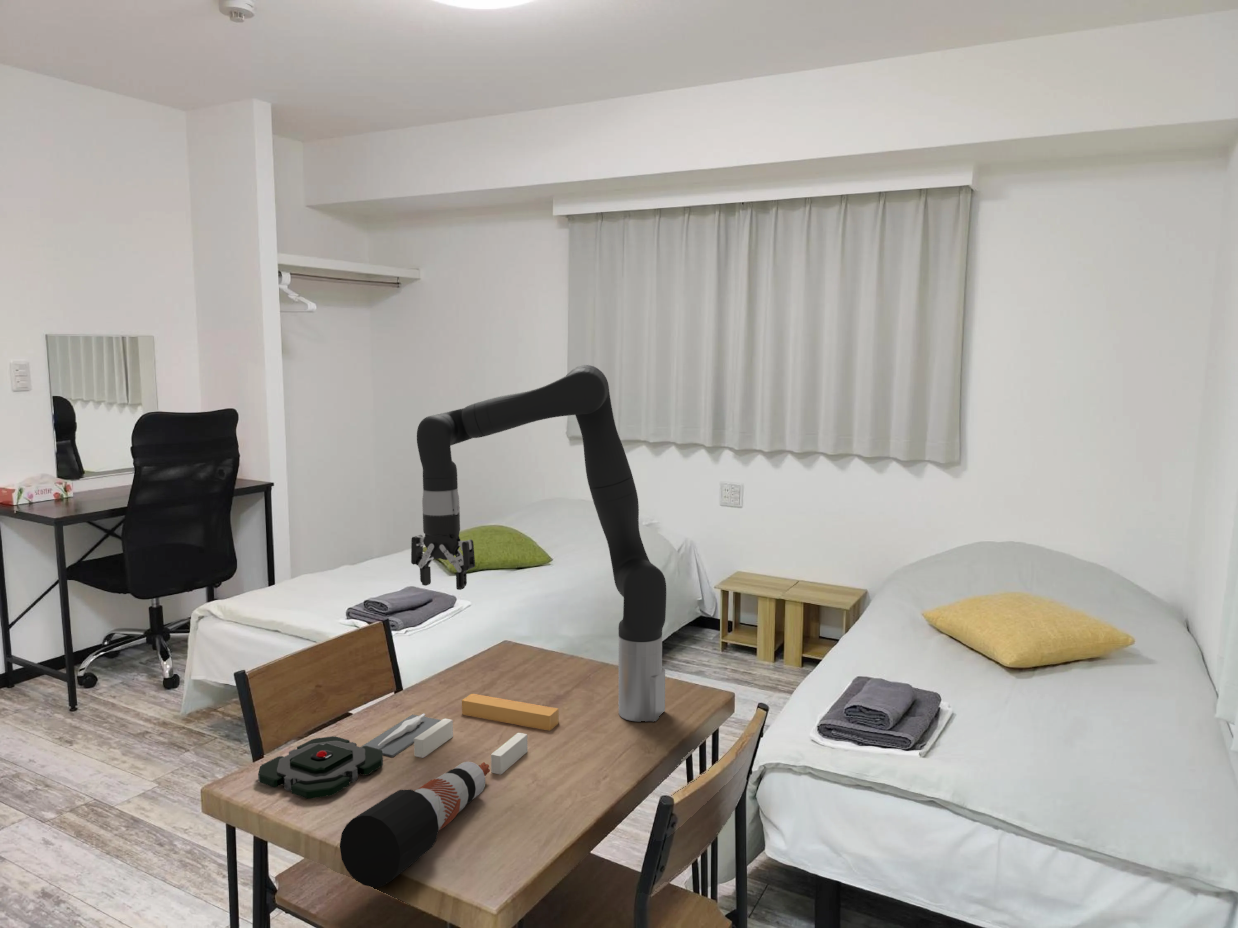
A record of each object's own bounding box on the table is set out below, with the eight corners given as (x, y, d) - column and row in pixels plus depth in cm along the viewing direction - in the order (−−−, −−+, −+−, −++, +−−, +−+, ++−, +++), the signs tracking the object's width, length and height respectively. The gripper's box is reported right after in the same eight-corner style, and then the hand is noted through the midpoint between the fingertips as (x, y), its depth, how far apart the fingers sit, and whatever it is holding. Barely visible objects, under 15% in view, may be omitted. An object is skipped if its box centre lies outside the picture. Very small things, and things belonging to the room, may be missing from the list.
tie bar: (558, 724, 178) (558, 708, 177) (550, 732, 174) (549, 715, 173) (472, 708, 186) (472, 693, 185) (462, 715, 182) (461, 700, 181)
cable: (494, 808, 152) (519, 762, 151) (381, 901, 120) (411, 844, 119) (450, 774, 155) (475, 728, 154) (329, 857, 123) (357, 800, 121)
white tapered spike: (419, 719, 178) (419, 710, 178) (429, 721, 177) (429, 712, 177) (372, 748, 165) (371, 739, 165) (383, 751, 164) (383, 741, 164)
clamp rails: (527, 751, 164) (527, 734, 164) (500, 774, 155) (500, 756, 155) (444, 734, 172) (444, 718, 171) (414, 755, 163) (413, 738, 162)
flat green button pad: (324, 744, 168) (323, 722, 168) (394, 765, 160) (393, 741, 159) (247, 784, 153) (246, 760, 152) (320, 809, 144) (318, 783, 144)
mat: (444, 722, 178) (444, 720, 178) (392, 756, 162) (392, 754, 162) (412, 716, 181) (412, 714, 181) (359, 749, 165) (359, 747, 165)
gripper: (401, 511, 176) (404, 587, 178) (460, 516, 171) (462, 594, 173) (423, 505, 183) (425, 579, 185) (480, 509, 177) (482, 585, 179)
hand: (443, 586), depth 179 cm, fingers open, 8 cm apart
